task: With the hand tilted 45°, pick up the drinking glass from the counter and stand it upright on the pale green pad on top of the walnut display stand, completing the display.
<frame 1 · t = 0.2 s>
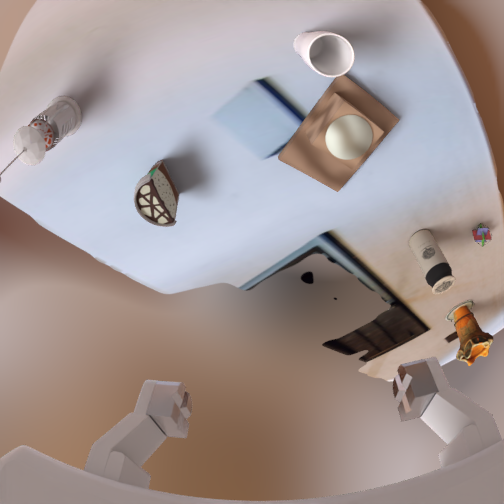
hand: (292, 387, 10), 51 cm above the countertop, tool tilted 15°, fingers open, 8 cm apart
geometric puzzle: (476, 227, 74), on the countertop
drinking glass: (307, 44, 41), on the countertop
french press: (65, 113, 46), on the countertop
decorative vase: (459, 310, 114), on the countertop
travel mug: (419, 238, 77), on the countertop
walnut display stand: (339, 134, 54), on the countertop
food container: (159, 180, 61), on the countertop
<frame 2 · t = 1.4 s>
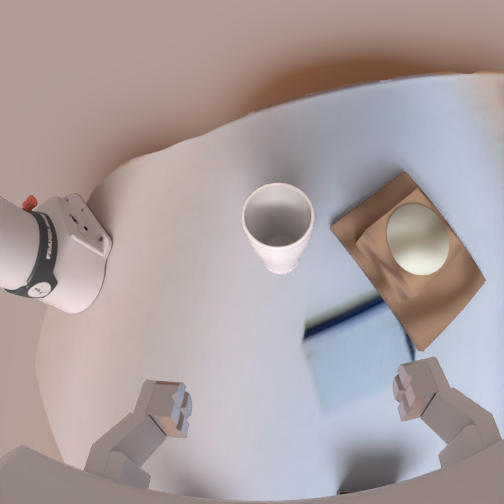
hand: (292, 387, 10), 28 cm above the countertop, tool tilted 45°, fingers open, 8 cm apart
drinking glass: (280, 256, 41), on the countertop
walnut display stand: (414, 257, 38), on the countertop
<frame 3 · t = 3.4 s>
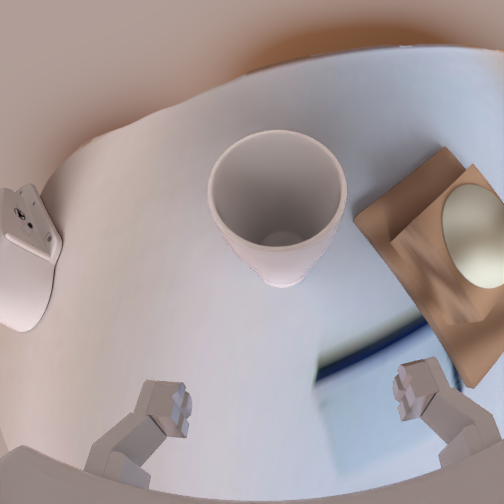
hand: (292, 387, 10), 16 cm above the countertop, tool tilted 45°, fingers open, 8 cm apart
drinking glass: (282, 261, 28), on the countertop
walnut display stand: (464, 261, 25), on the countertop
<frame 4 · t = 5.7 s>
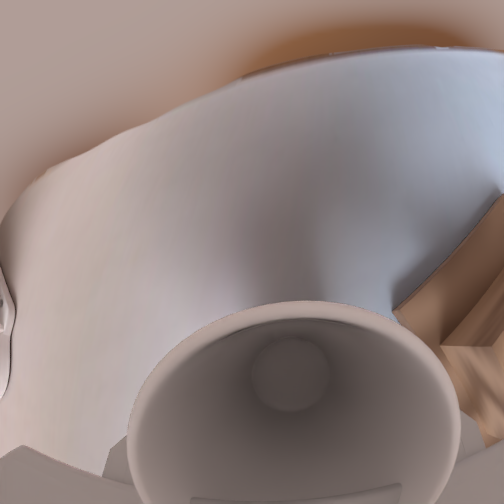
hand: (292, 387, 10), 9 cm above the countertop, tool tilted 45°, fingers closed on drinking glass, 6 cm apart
drinking glass: (290, 371, 18), on the countertop, touching gripper
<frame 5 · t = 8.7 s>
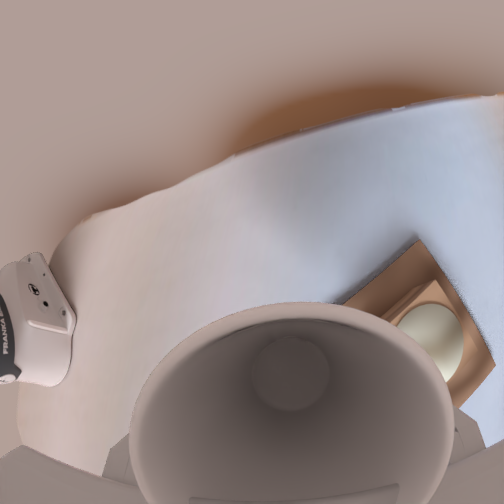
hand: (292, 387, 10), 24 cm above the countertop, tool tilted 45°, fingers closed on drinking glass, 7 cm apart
drinking glass: (290, 370, 18), point 15 cm above the countertop, touching gripper
walnut display stand: (420, 347, 31), on the countertop
when the fingers open (18 cm above the countertop, at t = 11.6 s): drinking glass stays where it is, resting on walnut display stand.
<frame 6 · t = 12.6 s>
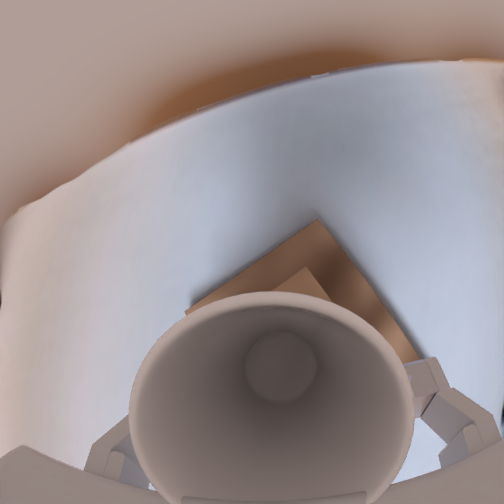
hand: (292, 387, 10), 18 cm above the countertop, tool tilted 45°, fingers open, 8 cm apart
drinking glass: (281, 364, 20), point 8 cm above the countertop, touching walnut display stand
walnut display stand: (317, 357, 26), on the countertop
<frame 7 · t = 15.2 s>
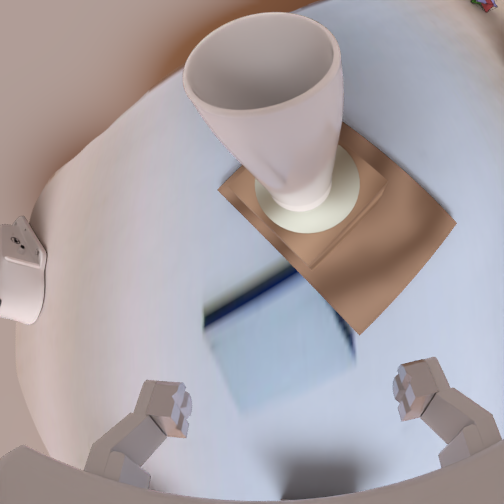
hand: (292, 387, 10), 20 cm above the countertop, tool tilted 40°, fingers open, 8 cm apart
geometric puzzle: (480, 7, 27), on the countertop
drinking glass: (300, 184, 24), point 8 cm above the countertop, touching walnut display stand
walnut display stand: (338, 207, 31), on the countertop
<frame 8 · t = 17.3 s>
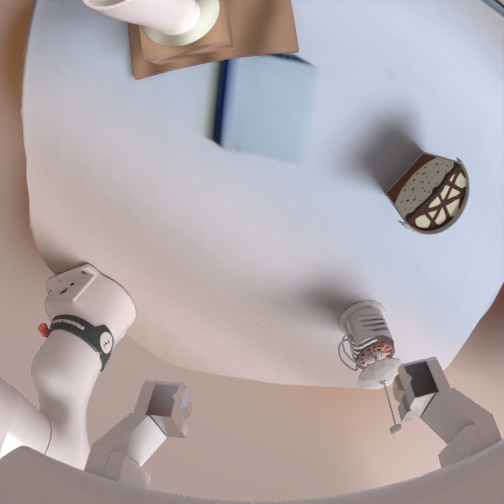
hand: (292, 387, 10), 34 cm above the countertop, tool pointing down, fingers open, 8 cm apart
drinking glass: (178, 16, 23), point 8 cm above the countertop, touching walnut display stand
french press: (358, 318, 53), on the countertop
walnut display stand: (207, 11, 28), on the countertop
food container: (414, 185, 39), on the countertop
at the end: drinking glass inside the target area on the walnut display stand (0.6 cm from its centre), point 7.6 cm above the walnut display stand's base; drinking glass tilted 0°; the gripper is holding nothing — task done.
